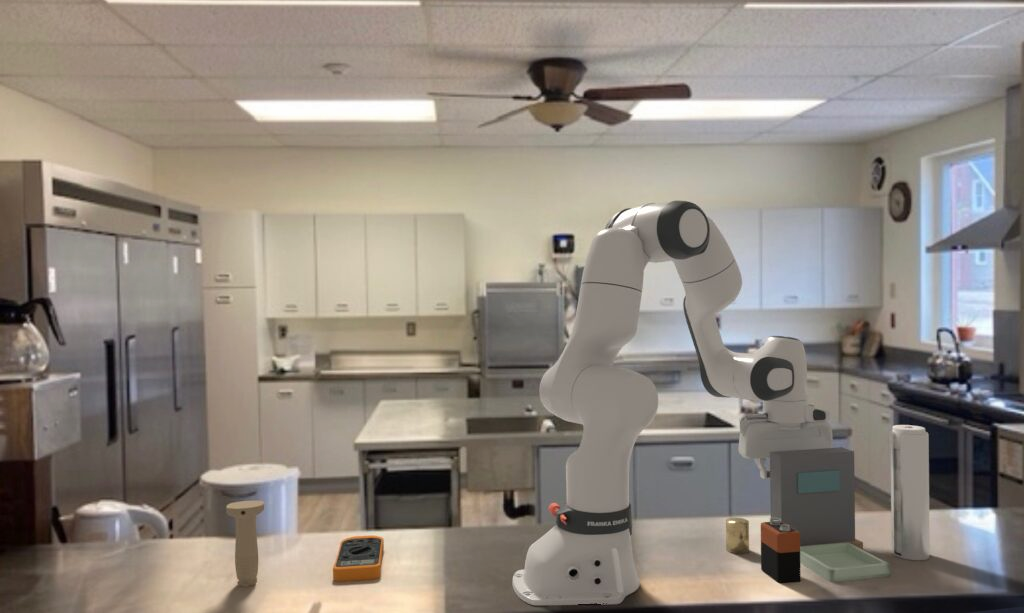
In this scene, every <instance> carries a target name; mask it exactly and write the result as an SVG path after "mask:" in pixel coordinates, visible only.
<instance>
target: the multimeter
mask: <svg viewBox="0 0 1024 613" xmlns="http://www.w3.org/2000/svg"><path fill="white" fill-rule="evenodd" d="M384 540H385V539H384V538H383V537H381V536H378V535H361V536H360V535H358V536H351V537H347V538H344V539H342V540H341V541H340V543H339V549H338V552H337V556H336V560H335V563H334V565H333V567H332V578H333V581H334V582H340V583H341V582H342V583H343V582H355V581H369V580H370V581H371V580H376V579H380V577H381V574H382V572H381V571H382V569H381V568H382V561H383V560H382V558H383V552H384V548H385V547H384V546H385V544H384V543H385V541H384Z"/></svg>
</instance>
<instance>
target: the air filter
mask: <svg viewBox="0 0 1024 613" xmlns="http://www.w3.org/2000/svg"><path fill="white" fill-rule="evenodd" d="M889 432H890V433H889V434H890V437H889V439H890V510H891V511H890V517H891V518H890V519H891V520H890V521H891V522H890V523H891V524H890V526H891V528H890V530H891V531H890V532H891V536H890V537H891V539H890V540H891V553H892V554H893V555H894V556H895V557H898V558H900V559H902V560H903V559H904V560H909V561H915V560H918V561H917V562H919V561H920V560H922V561H926V560H929V559H930V553H931V552H930V548H931V547H930V546H931V545H930V462H929V461H930V458H929V457H930V455H929V452H930V449H929V448H930V447H929V446H930V442H929V433H928V432H927V431H926V428H925V427H923V426H919V425H910V424H895V425H893V426H892V429H891V430H890V431H889Z"/></svg>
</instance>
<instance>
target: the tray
mask: <svg viewBox="0 0 1024 613" xmlns="http://www.w3.org/2000/svg"><path fill="white" fill-rule="evenodd" d="M800 565H803V566H804V567H806V568H807V569H809V570H811V571H812V572H814V573H815V574H818V575H819V576H820V577H822V578H824V579H825V580H827V581H829V582H830V583H831V582H842V581H851V580H853V581H854V580H862V579H871V578H872V579H873V578H882V577H884V578H885V577H891V574H892V572H891V569H892V568H891V563H890V562H887V561H885V560H884V559H881V558H879V557H877V556H875V555H874V554H872V553H869V552H867V551H866V550H864V549H863V550H862V549H860V548H858V547H856V546H854V545H852V544H851V543H849V542H845V543H834V544H823V545H812V546H801V547H800Z"/></svg>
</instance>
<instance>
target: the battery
mask: <svg viewBox="0 0 1024 613" xmlns="http://www.w3.org/2000/svg"><path fill="white" fill-rule="evenodd" d="M760 569H761V571H762V572H763V573H764V574H765V575H767V576H768V577H770V578H771V579H772V580H774V582H775V581H776V582H777V583H778V584H791V583H800V582H801V580H802V578H801V563H800V533H799V532H798V531H797V530H795V529H793V528H792V527H790V526H789V525H787V524H785V523H783V522H781V519H779V518H771V517H769V521H764V522H761V523H760Z"/></svg>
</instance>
